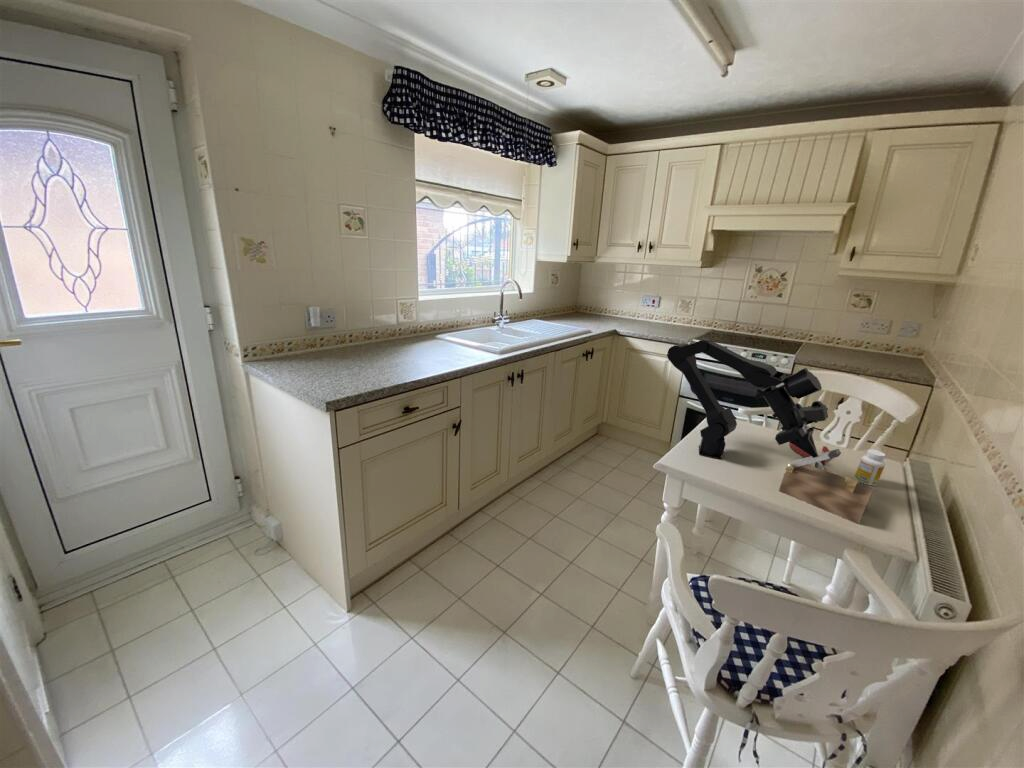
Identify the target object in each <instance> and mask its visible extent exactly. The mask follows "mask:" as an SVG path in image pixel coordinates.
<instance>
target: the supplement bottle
mask: <svg viewBox="0 0 1024 768" xmlns="http://www.w3.org/2000/svg"><path fill="white" fill-rule="evenodd" d="M885 458H886V454H885V453H884V452H882V451H880V450H877V449H872V448H871V449H867V452H866V454H865V455H862V457H861V459H860V461H859V464H858V466H857V469H856V472H855V474H854V478H855V479H858V483H860V482H861V484H863V483H864V485H866V484H869V485H868V486H870V485H875V486H877V485H878V483H879V481H880V479H881V476H882V473H883V471H884V469H885V466H886V462H885Z"/></svg>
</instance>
